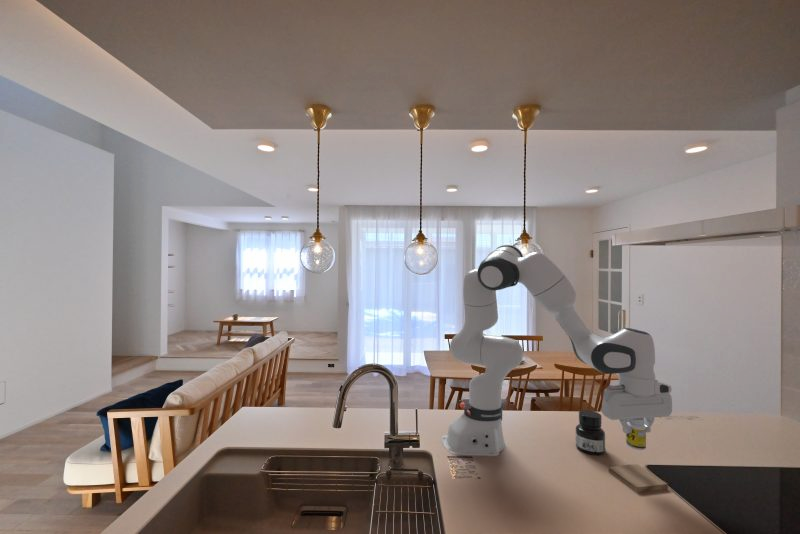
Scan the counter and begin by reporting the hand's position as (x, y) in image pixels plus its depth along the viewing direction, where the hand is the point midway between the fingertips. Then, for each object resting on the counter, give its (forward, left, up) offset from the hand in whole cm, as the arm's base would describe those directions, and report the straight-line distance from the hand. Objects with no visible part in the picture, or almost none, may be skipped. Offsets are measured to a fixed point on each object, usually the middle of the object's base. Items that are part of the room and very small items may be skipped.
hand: (636, 432), depth 99 cm
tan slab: (0, 0, -15) cm, 15 cm away
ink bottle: (-1, +18, -14) cm, 23 cm away
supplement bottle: (0, 0, -4) cm, 4 cm away
